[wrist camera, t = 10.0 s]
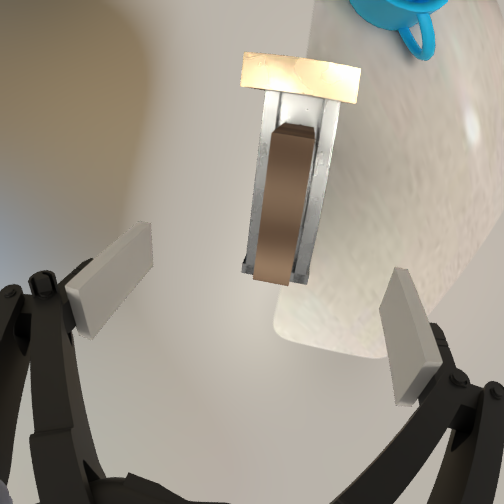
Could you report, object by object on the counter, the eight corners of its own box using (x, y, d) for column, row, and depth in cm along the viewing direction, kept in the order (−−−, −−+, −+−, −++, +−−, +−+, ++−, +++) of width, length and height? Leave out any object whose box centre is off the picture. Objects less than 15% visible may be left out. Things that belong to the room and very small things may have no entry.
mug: (334, -29, 21) (339, -62, 14) (403, -38, 19) (425, -68, 11) (378, 71, 26) (398, 62, 19) (446, 59, 23) (482, 52, 16)
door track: (269, 68, 28) (244, 51, 17) (343, 79, 27) (360, 68, 16) (246, 260, 38) (219, 325, 28) (307, 271, 37) (302, 341, 27)
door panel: (284, 122, 30) (271, 132, 21) (314, 127, 29) (314, 139, 20) (269, 231, 35) (252, 279, 27) (295, 235, 35) (288, 286, 26)
